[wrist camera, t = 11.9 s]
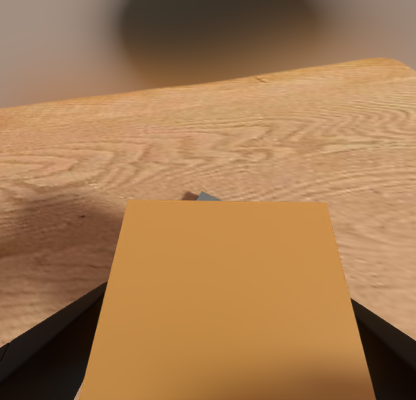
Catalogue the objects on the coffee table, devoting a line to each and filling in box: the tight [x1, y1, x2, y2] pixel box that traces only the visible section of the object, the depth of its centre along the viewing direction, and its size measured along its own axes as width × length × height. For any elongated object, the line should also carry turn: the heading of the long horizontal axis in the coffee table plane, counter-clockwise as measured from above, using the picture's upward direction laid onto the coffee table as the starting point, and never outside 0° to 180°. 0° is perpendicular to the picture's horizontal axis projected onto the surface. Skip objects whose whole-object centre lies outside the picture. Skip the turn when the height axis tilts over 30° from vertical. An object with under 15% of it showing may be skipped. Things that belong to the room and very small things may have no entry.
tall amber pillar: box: [79, 200, 376, 400], centre depth 10 cm, size 6×6×12 cm
